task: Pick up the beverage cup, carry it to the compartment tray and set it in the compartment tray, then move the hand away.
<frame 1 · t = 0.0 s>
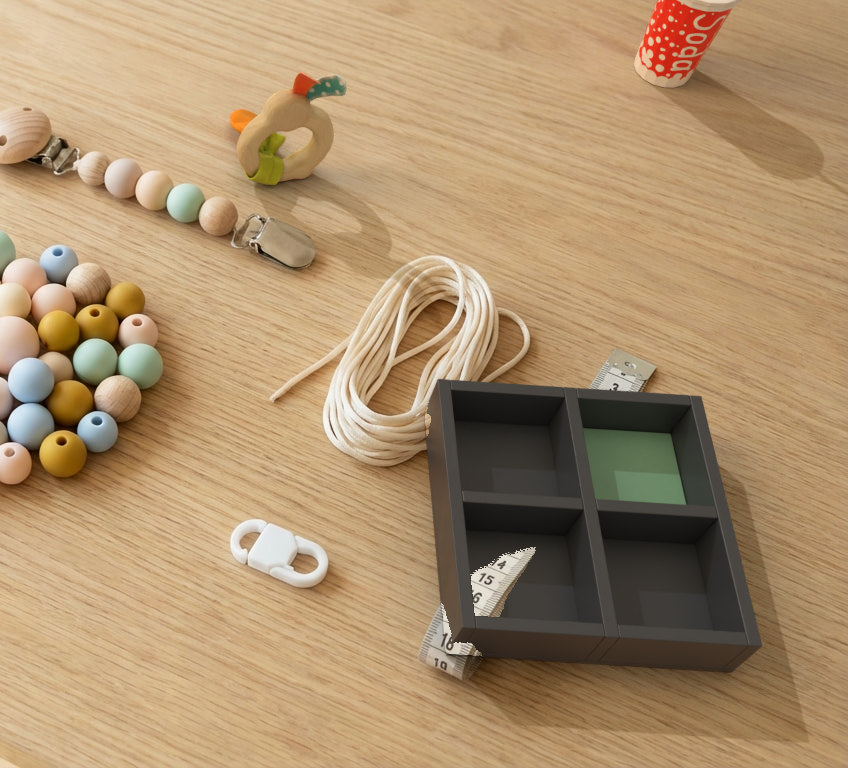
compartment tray: (568, 534, 76), on the table
beverage cup: (660, 70, 101), on the table
rattle: (275, 158, 93), on the table
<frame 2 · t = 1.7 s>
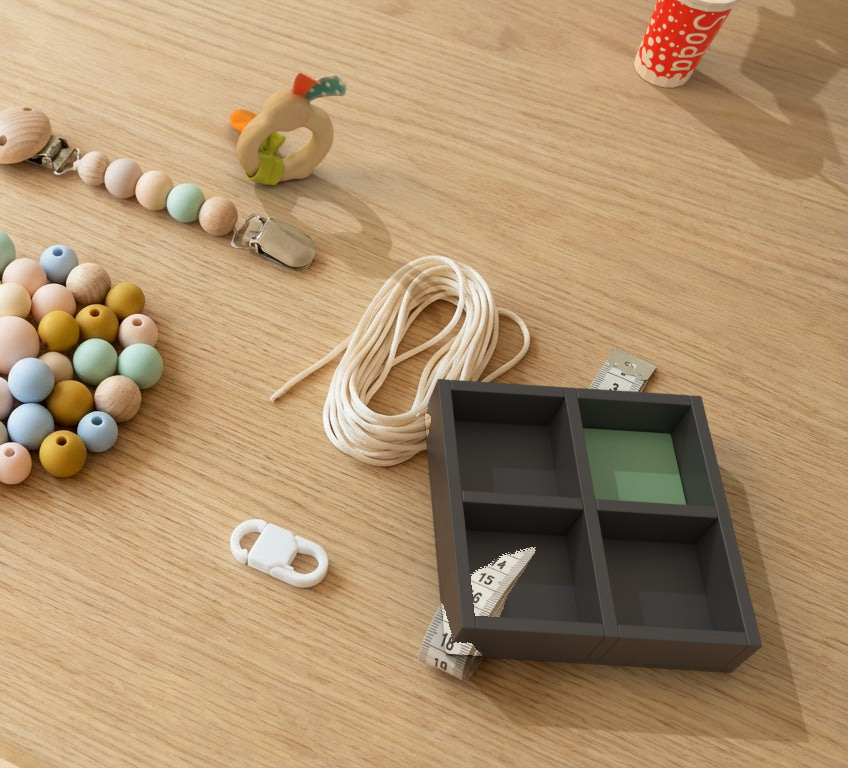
nothing on the table moved.
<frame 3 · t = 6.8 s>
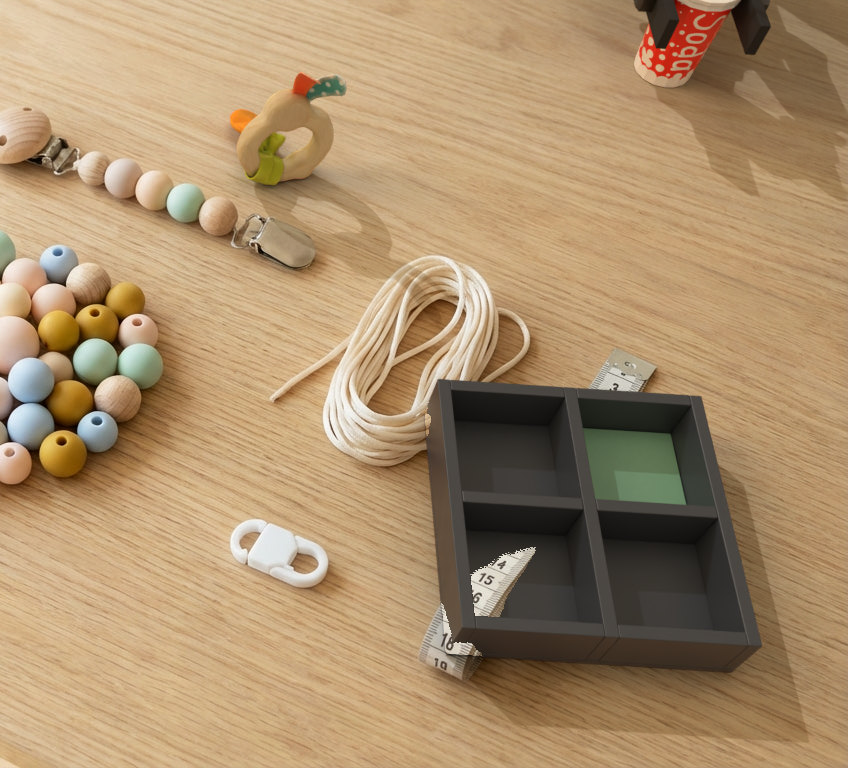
hand: (712, 37, 91), 8 cm above the table, tool horizontal, fingers closed on beverage cup, 6 cm apart
beverage cup: (660, 70, 101), on the table, touching gripper
everything else where it was.
when the fingers open (8 cm above the table, at t = 17.1 s): beverage cup stays where it is, resting on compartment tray.
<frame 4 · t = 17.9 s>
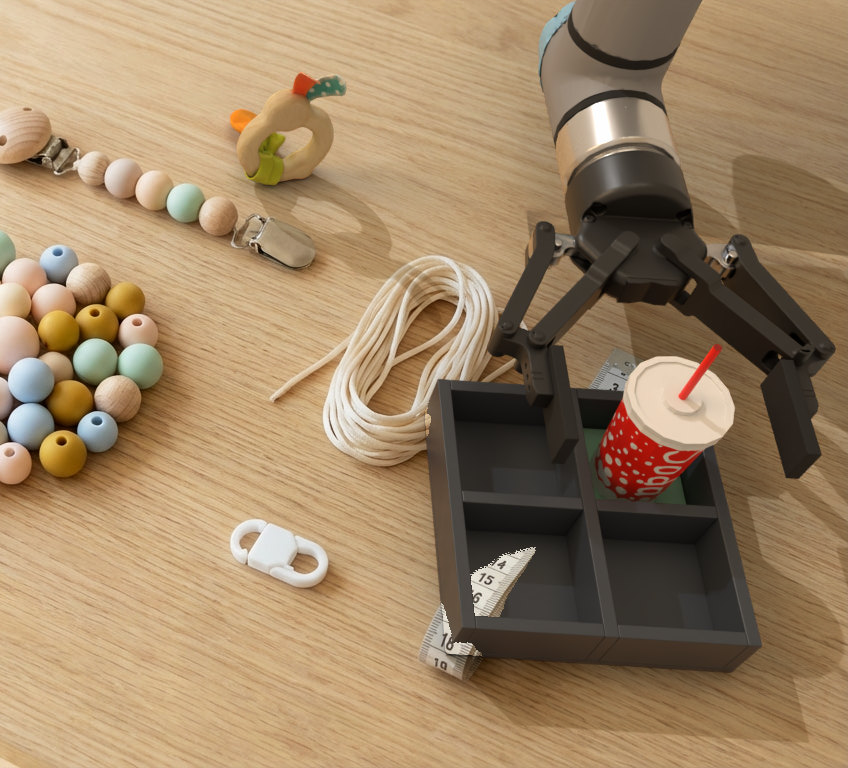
hand: (684, 460, 69), 8 cm above the table, tool horizontal, fingers open, 13 cm apart
beverage cup: (623, 478, 77), point 1 cm above the table, touching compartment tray
everything else where it was.
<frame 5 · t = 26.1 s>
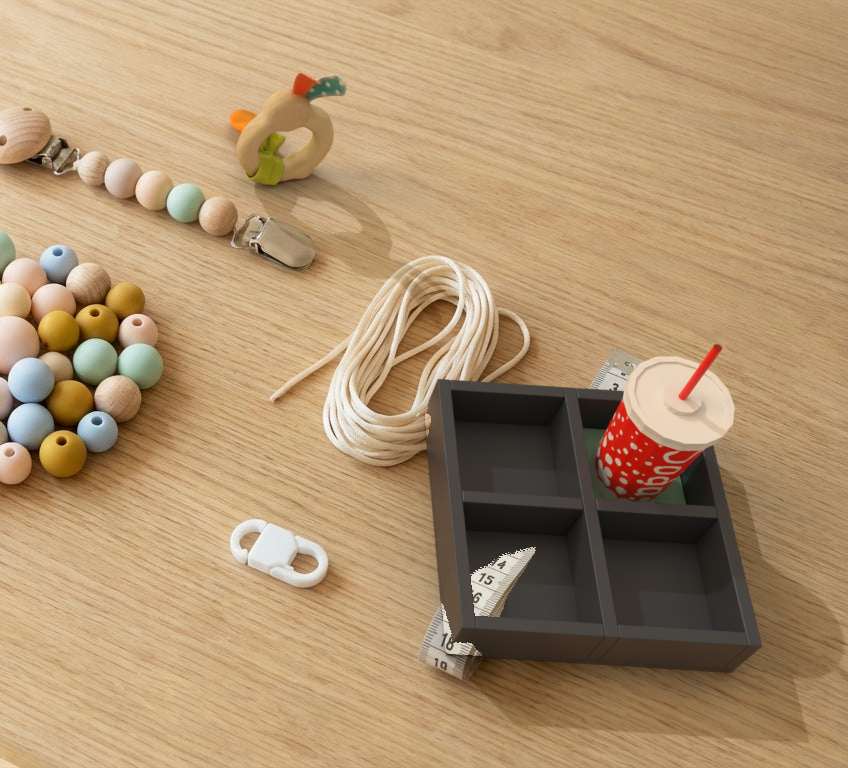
nothing on the table moved.
at the end: beverage cup 0.0 cm from the target spot in the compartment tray, point 0.5 cm above the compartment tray's base; beverage cup tilted 0°; the gripper is holding nothing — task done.
